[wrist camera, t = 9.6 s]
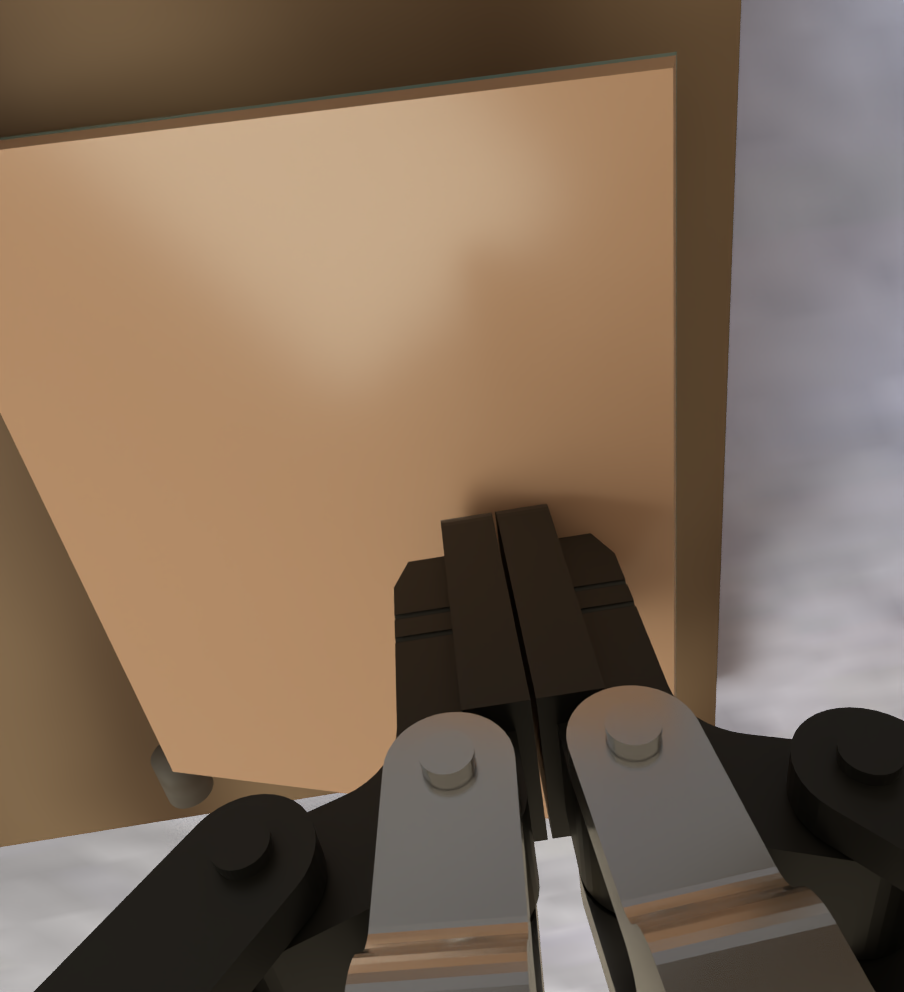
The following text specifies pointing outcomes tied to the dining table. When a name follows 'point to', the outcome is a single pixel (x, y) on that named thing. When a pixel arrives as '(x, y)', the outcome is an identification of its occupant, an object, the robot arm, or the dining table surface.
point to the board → (293, 76)
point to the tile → (339, 378)
